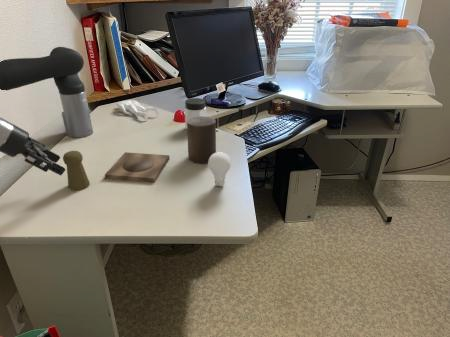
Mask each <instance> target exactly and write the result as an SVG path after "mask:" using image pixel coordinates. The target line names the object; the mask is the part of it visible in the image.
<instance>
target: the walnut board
mask: <svg viewBox="0 0 450 337" xmlns="http://www.w3.org/2000/svg"><path fill="white" fill-rule="evenodd" d="M169 161H170V155H168V154H156V153H140V152H129V151H128V152H124V153H123V154H122V155H121V156H120V157H119V158H118V159H117V160H116V162H115V163H114V164H113V165H112V166H111V167H110V168H109V169H108V170H107V171H106V173H105V174H104V178H105V179H106V180H116V181H117V180H119V181H120V180H121V181H130V182H141V183H142V182H143V183H156V182H157V180H158V178H159V177H160V175H161V173H162V172H163V170H164V168H166V165H168V163H169Z"/></svg>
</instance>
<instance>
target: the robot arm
mask: <svg viewBox="0 0 450 337" xmlns="http://www.w3.org/2000/svg"><path fill="white" fill-rule="evenodd" d="M2 60H3V61H1V60H0V61H1V62H0V89H1V90H6V91H10V90H15V89H19V88H22V87H25V86H28V85H31V84H35V83H39V82H42V81H45V80H48V79H53V81H54V84H55V86H56V88H57V90H58V93H59V97H60V101H61V107H62V109H63V111H61V117H62V121H63V125H64V129H65V133H66V136H69V137H71V138H84V137H88V136H90V135H92V134H93V133H94V127H93V124H92V119H91V114H90V113H91V112H90V108H89V104H88V103H89V102H88V98H87V93H86V88H85V84H84V82H83V81H82V79H81V78H80V76H79V73H80V72H81V71H82V69H83V68H84V65H85V61H84V58H83V56H82V54H81V53H79V52H78V51H77V50H75V49H72V48H69V47H65V46H56V47H54V48H52V49H51V51H50V53H49V55H47V56H41V57H24V58H23V57H22V58H21V57H20V58H8V59H2ZM6 91H5V92H6ZM0 152H1V153H3V154H4V155H6V156H8V157H12V158H14V157H16V156H18V155H20V154H21V155H22V156H23V157H24V162H25V163H26V164H27V163H28V164H29V165H31V166H34V167H35V168H38V169H39V170H41V171H43V172H45V173H47V172H48V171H51V172H52V173H54V174H56V175H59V176H62V175H64V173H65V171H66V167H63V166H61V165H60V164H58V161H60V159H61V156H60V155H58V154H57V153H55V152H53V151H52V150H49V148H48V147H47V146H46V144H44V143H42V142H40V141H37V140H36V139H34V138H32V137H31V136H30V134H29V132H28V131H27V130H24V129H22V128H20V127H19V126H17V125H16V124H14V123H11V122H10V121H8V120H6V119H4V118H3V117H0Z"/></svg>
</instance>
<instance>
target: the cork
mask: <svg viewBox="0 0 450 337" xmlns="http://www.w3.org/2000/svg"><path fill="white" fill-rule="evenodd" d="M62 161H63V163H64V164H65V166H66V173H67V184H68V187H67V188H68V190H70V191H73V192H75V191H76V192H78V191H83V190H85V189H87V188H89V187H90V185H91V183H90V180H89V177H88V175H87V172H86V170H85V167H84V165H83V154H82V153H81V152H80V151H78V150H70V151H67V152H65V153H64V154H63V157H62Z"/></svg>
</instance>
